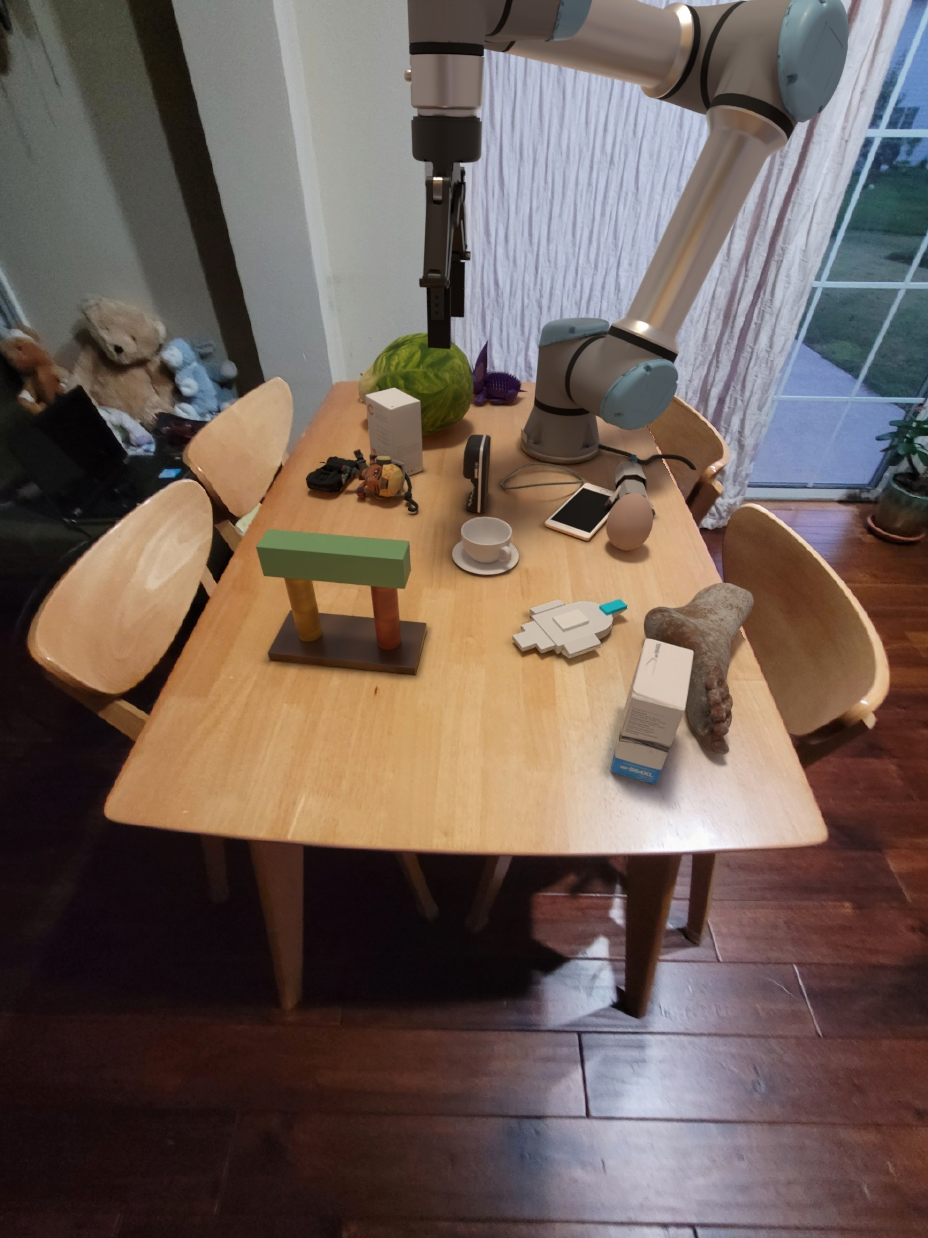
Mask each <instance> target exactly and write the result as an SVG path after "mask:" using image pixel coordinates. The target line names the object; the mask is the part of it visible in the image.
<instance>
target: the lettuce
mask: <svg viewBox="0 0 928 1238" xmlns="http://www.w3.org/2000/svg"><path fill="white" fill-rule="evenodd" d="M472 372H473V369H472V366H471V365H470V362H469V359H468V356H467V355H466V353H465V352H464V351H463V350H462V349H461V348H460V347H459V346H458V345H457V344H455V342H452V341H451V348H450V349H440V348H428V334H427V332H417V333H410V334H405V335H402V336H399V337H397V338H396V339H395V340H393V341H392V342H390V343H389V344H388V345H387V346H385V348H384V349H383V350H382V351H381V352H380V353H379V354H378V356H376V358H375V360H374V361H373V363H372V364H371V365H369V367H368V368H367V369H366V370H365V371H364V372H363V373H362V374H363V375H362V377H361V376H360V378H359V380H358V383H357V391H358V396H359V398H360V399H361V400H362V401H363V402H362V403H363V404H364V405H365V406H366V397H365V395H367V394H371V393H375V392H379V391H383V390H387V389H391V388H396V389H398V390H400V391H402V392H404V393H406V394H408V395H410V396H412V397H414V398H416V399H417V400H420V401H421V428H422V438H423V437H426V436H431V435H434V434H436V433H440V432H442V431H444V430H446V429H447V428H450V427H452V426H454V425H456V424H459V423H460V422H461V421H462V420H463V418H464V417H465V416H466V414H467V413H468V412H469V410H470V408H471V405H472V401H473V396H474V394H473V375H472ZM360 399H359V400H360Z"/></svg>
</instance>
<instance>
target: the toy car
mask: <svg viewBox="0 0 928 1238" xmlns="http://www.w3.org/2000/svg"><path fill="white" fill-rule="evenodd" d="M356 462H357V459H349V458H344V457H338V456H337V455H335V456H329V457H328V458H327V460H325V461H319V463H320V464H324V465H322V466H320V467H319V468H316V469H315V470H313V471H311V472H309V473H308V474H307V475H306V477H305V483H306V487H307V488H308V489H309V490H311V491H318V492H322V493H323V492H324V493H327V494H336V493H341V491H342V489H343V488H344V487H345V486H346V485H347V483H348V482H349V481H350V480H351V479H352V478H353V477H352V476H351V475H350V474H346V473H344V472H343V471H342V467H343V465H346V466H349V467H350V468H355V467H356V468H357V469H358V470H360V469H359V466H358V464H357V463H356Z"/></svg>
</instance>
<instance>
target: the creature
mask: <svg viewBox="0 0 928 1238" xmlns="http://www.w3.org/2000/svg"><path fill="white" fill-rule="evenodd" d="M483 345H484V346H483V347H482V349H481V350H480V352H479V354H478V356H477V358H476V360H475V363H474V366H473V364H471V369H472V375H473V396H476V397H475V398H473V401H472V403H475V404H476V405H479V406H480V405H483V404H484V403H485V400H487V401H489V402H491V403H493V404H506V403H510V402H513V401H514V400H515V399H517V396H518V395H519V393H528V392H529V391H528V390H524V389H522V386H523V385H522V384H523V382H522V381H521V379H520V378H518V376H516V375H515V374H513V373H510V372H506V371H505V370H504V372H503V370H500V371H497V372H492V371H491V368H488V367H489V366H488V365H489V364H488V363H489V362H488V361H489V360H488V359H489V358H488V345H489V339H487V340H486V342H485V344H483Z"/></svg>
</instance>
